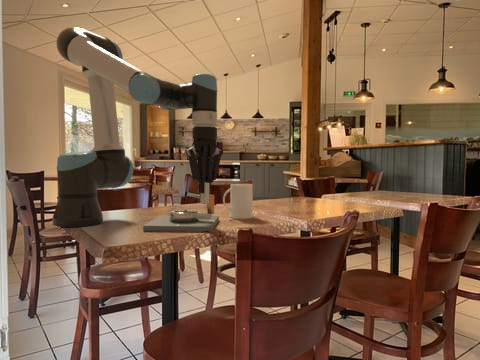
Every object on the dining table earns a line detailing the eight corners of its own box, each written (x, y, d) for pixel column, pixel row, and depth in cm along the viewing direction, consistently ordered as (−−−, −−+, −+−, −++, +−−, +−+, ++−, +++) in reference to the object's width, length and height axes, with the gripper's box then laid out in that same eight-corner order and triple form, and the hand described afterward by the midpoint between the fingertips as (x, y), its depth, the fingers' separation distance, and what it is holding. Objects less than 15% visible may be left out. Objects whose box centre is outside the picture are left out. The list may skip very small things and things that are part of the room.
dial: (164, 220, 114) (164, 195, 113) (177, 216, 122) (177, 192, 122) (208, 223, 109) (208, 196, 109) (219, 218, 118) (219, 194, 118)
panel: (143, 231, 107) (143, 225, 107) (161, 219, 127) (161, 214, 127) (211, 232, 106) (211, 226, 106) (218, 220, 126) (218, 215, 126)
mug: (227, 220, 126) (227, 185, 126) (217, 216, 134) (217, 184, 133) (257, 218, 132) (257, 184, 131) (246, 214, 139) (246, 183, 139)
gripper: (194, 124, 105) (194, 206, 106) (228, 127, 113) (228, 203, 114) (179, 126, 110) (180, 204, 111) (214, 129, 119) (214, 201, 120)
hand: (204, 203), depth 113 cm, fingers closed
